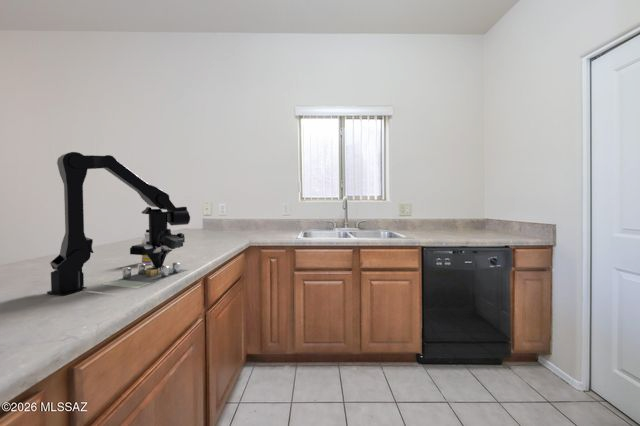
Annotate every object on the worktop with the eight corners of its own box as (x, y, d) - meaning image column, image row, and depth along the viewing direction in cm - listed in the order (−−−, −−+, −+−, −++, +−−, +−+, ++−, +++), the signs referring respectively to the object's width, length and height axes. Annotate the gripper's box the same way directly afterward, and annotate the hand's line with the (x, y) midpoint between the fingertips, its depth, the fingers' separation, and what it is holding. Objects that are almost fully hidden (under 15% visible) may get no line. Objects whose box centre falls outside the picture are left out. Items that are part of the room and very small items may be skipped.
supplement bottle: (154, 265, 118) (154, 233, 117) (138, 265, 118) (137, 233, 117) (163, 262, 124) (163, 231, 124) (148, 261, 124) (147, 231, 124)
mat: (136, 289, 88) (136, 288, 88) (101, 285, 91) (101, 284, 91) (188, 271, 110) (188, 270, 110) (158, 268, 113) (158, 267, 113)
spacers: (152, 282, 94) (152, 271, 94) (120, 279, 97) (120, 268, 97) (183, 271, 108) (183, 261, 108) (154, 268, 111) (154, 259, 111)
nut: (153, 277, 99) (153, 270, 99) (142, 276, 100) (142, 269, 100) (162, 274, 103) (162, 267, 103) (151, 273, 104) (151, 266, 104)
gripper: (157, 230, 93) (158, 279, 94) (195, 224, 111) (195, 266, 112) (128, 228, 95) (129, 276, 96) (169, 223, 114) (170, 264, 114)
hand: (158, 270), depth 105 cm, fingers closed
